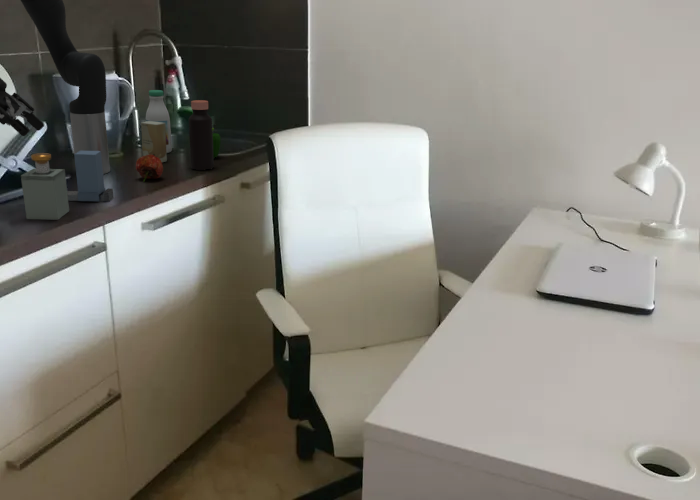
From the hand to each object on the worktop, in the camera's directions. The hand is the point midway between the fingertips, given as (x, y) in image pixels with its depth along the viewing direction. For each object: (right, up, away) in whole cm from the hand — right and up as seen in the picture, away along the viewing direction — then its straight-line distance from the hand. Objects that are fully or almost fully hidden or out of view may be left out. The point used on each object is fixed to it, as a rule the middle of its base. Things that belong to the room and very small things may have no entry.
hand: (34, 130), depth 164 cm
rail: (+6, -16, +6) cm, 18 cm away
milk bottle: (+13, +4, +63) cm, 64 cm away
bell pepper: (+30, +1, +56) cm, 63 cm away
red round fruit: (+20, -9, +27) cm, 35 cm away
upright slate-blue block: (+12, -16, +6) cm, 21 cm away
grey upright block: (+7, -21, -7) cm, 23 cm away
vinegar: (+31, -4, +42) cm, 53 cm away
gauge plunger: (+7, -14, -10) cm, 18 cm away
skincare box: (+15, -1, +49) cm, 51 cm away
